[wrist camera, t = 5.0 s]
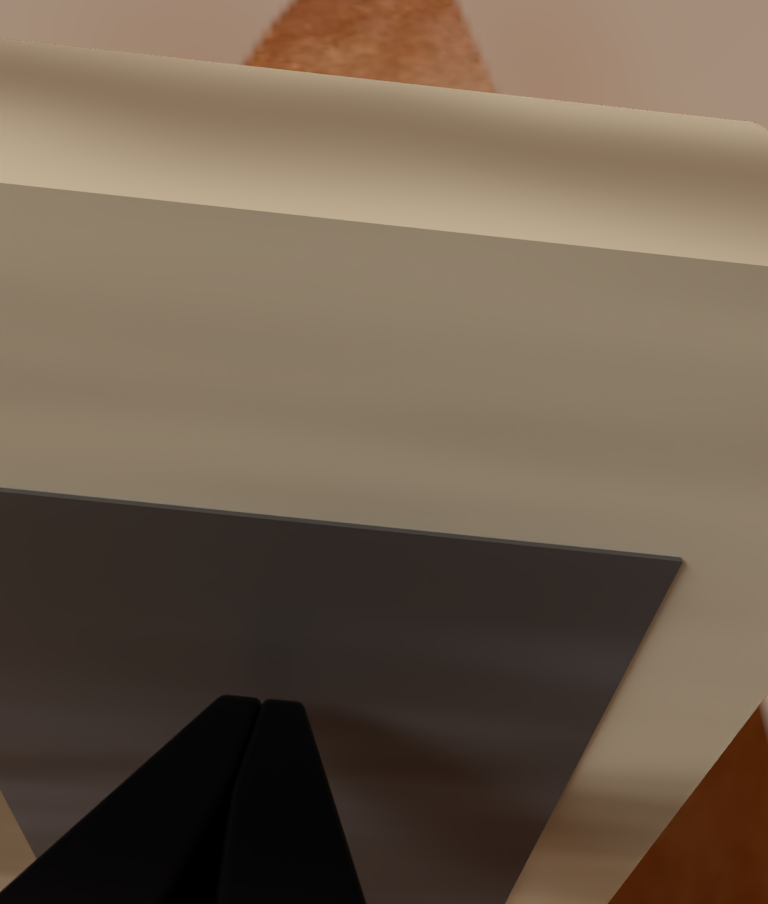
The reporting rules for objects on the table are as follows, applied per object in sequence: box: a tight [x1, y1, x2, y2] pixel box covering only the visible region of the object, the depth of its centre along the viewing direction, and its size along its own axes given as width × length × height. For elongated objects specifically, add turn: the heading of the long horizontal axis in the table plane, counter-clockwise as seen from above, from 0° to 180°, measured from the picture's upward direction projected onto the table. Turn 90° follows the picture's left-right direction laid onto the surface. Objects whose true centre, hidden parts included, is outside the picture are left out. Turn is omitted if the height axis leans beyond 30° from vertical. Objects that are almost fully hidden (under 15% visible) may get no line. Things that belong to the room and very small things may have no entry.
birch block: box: [0, 38, 768, 904], centre depth 10 cm, size 5×10×13 cm, turn 85°
